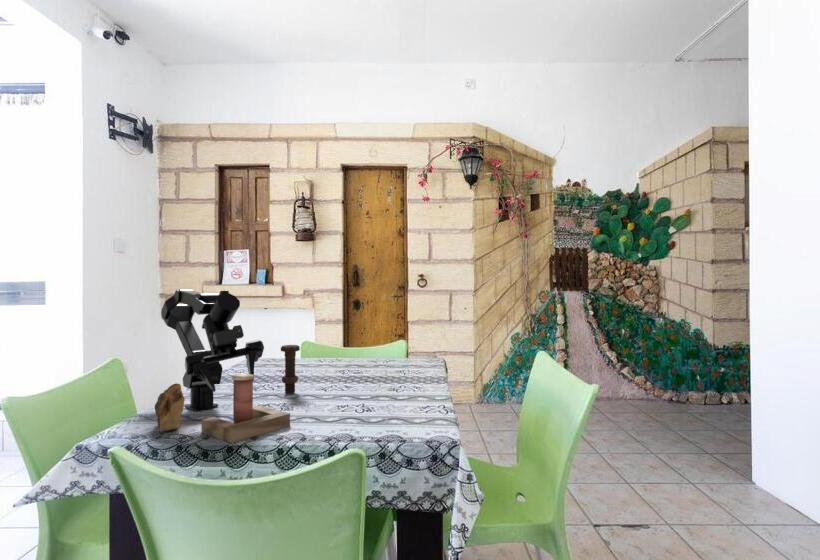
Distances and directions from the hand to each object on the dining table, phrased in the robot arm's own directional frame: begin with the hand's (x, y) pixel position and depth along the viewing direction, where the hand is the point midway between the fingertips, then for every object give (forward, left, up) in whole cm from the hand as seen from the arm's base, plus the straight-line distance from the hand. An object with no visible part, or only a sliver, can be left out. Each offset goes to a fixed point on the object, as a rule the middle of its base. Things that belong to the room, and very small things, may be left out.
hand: (234, 385), depth 118 cm
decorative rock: (-9, -11, -10) cm, 17 cm away
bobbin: (+5, -1, -9) cm, 11 cm away
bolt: (-15, +29, -10) cm, 34 cm away
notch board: (+6, -1, -9) cm, 11 cm away
